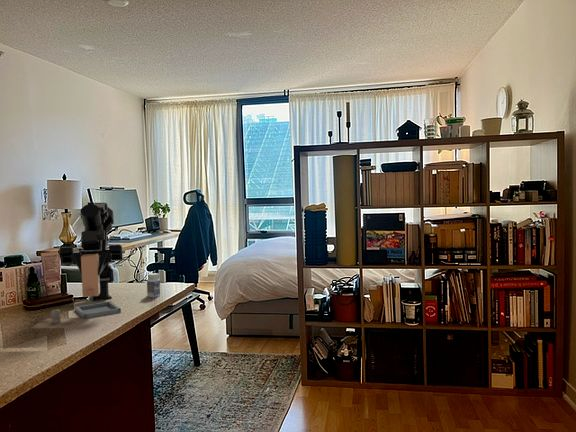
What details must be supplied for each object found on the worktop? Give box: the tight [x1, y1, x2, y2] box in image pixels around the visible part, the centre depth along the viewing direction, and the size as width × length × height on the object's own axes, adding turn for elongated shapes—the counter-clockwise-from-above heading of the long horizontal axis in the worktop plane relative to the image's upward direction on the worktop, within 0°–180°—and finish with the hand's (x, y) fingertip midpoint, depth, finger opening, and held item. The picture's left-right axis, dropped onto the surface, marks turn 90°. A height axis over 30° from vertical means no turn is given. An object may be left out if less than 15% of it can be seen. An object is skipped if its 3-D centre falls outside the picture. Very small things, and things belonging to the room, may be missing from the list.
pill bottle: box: [146, 272, 161, 298], centre depth 164 cm, size 5×5×8 cm
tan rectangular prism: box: [81, 254, 100, 298], centre depth 137 cm, size 6×5×13 cm
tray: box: [75, 301, 122, 320], centre depth 141 cm, size 12×11×2 cm
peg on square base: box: [29, 309, 80, 330], centre depth 129 cm, size 10×10×4 cm
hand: (90, 275), depth 137 cm, fingers closed on tan rectangular prism, 5 cm apart
